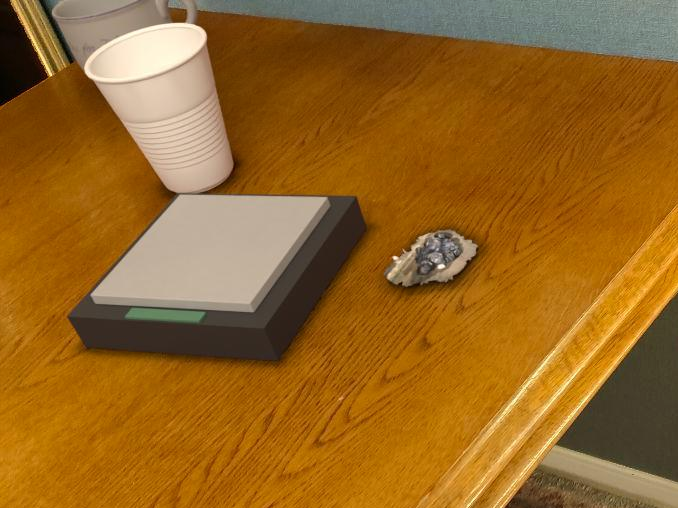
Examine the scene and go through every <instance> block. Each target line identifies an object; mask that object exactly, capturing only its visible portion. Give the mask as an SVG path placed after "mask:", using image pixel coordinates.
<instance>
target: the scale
mask: <svg viewBox="0 0 678 508" xmlns="http://www.w3.org/2000/svg"><path fill="white" fill-rule="evenodd" d="M363 215H364V214H363V212H362V210H361V206H360V203H359V200H358V196H357V195H332V194H331V195H329V194H327V195H326V194H325V195H324V194H323V195H321V194H319V195H318V194H266V193H265V194H263V193H262V194H259V193H258V194H257V193H256V194H255V193H204V192H201V193H175V195H174V196H173V197H172V198H171V200H170V201H168V203H167V204H166V205H165V206H164V207H163V208H162V210H160V212H159V213H158V214H157V215H156V216H155V217H154V218H153V219H152V221H151V222H150V223H149V224H148V225H147V226H146V227H145V228H144V230H143V231H142V232H141V233H140V234H139V235H138V236H137V238H136V239H135V240H134V241H133V242H132V243H131V244H130V245H129V247H127V249H126V250H125V251H124V252H123V253H121V255H120V256H119V258H117V260H116V261H115V262H114V263H113V264H112V265H111V266H110V267H109V268H108V269H107V271H106V272H105V273H104V274H103V275H102V276H101V277H100V278H99V280H98V281H97V282H96V283H95V284H94V285H93V286H92V288H91V289H90V290H89V291H88V292H87V293H86V294H85V295H84V296H83V297H82V299H81V300H80V301H79V302H78V303H77V304H76V305H75V307H73V308H72V310H71V311H70V312H69V313H68V314H67V315H66V318H67V319H68V321H69V323H70V324H71V326H72V328H73V329H74V331H75V332H76V334H77V336H78V337H79V339H80V341H81V342H82V344H83V345H84V347H85V348H86V349H100V350H101V349H102V350H115V351H116V350H117V351H128V352H129V351H130V352H131V351H132V352H145V353H157V354H173V355H188V356H199V357H200V356H202V357H213V358H214V357H215V358H228V359H229V358H230V359H243V360H244V359H245V360H257V361H269V362H271V361H272V362H279V361H280V359H281V358H282V357H283V355H284V353H285V352H286V351H287V349H288V347H289V346H290V344H291V343H292V341H293V339H294V338H295V337H296V335H297V334H298V332H299V331H300V329H301V328H302V327H303V325H304V323H305V322H306V321H307V319H308V317H309V316H310V315H311V313H312V312H313V310H314V308H315V306H316V305H317V304H318V302H319V300H320V299H321V298H322V296H323V295H324V293H325V291H326V290H327V288H328V287H329V286H330V284H331V283H332V281H333V279H334V278H335V277H336V275H337V274H338V272H339V271H340V269H341V268H342V266H343V264H344V263H345V262H346V260H347V259H348V257H349V255H350V254H351V252H352V251H353V249H354V248H355V247H356V245H357V244H358V242H359V241H360V239H361V238H362V236H363V235H364V233H365V232H366V230H367V225H366V222H365V218H364V216H363Z"/></svg>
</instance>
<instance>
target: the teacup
mask: <svg viewBox="0 0 678 508" xmlns="http://www.w3.org/2000/svg"><path fill="white" fill-rule="evenodd" d="M169 1H170V0H62V1H59V2H58V3H56V5H55V6H54V7H53V8H52V10H51V16H52V18H53V19H54V20H55V21H56V23H57V25H58V27H59V29H60V31H61V33H62V36H63V37H64V40H65V42H66V43H67V46H68V47H69V49H70V52H71V53H72V56H73V57H74V59H75V61H76V63H77V64H78V66H79V67H80V68H81V70H82V71H83V72H84V73H85V70H84V67H85V63H86V61H87V60H88V58H89V57H90V56H91V55H92V54H93V53H94V52H95V51H96V50H98V49H99V48H100V47H102V46H103V45H105V44H107V43H108V42H110V41H112V40H114V39H116V38H118V37H120V36H123V35H125V34H128V33H130V32H133V31H136V30H139V29H143V28H146V27H151V26H155V25H161V24H168V23H174V22H173V19H172V17H171V14H170V10H169ZM179 1H180V3H182V5H183V6H184V7H185V9H186V14H187V15H186V20H185V22H184V23H188V24H194V25H197V22H198V18H199V10H198V6H197V3H196V1H195V0H179Z"/></svg>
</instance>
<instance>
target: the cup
mask: <svg viewBox="0 0 678 508" xmlns="http://www.w3.org/2000/svg"><path fill="white" fill-rule="evenodd" d="M207 42H208V35H207V32H206V30H205V29H204V28H203V27H201V26H200V25H197V24H195V25H194V24H188V23H185V22H173V23H168V24H161V25H155V26H151V27H146V28H143V29H139V30H136V31H133V32H130V33H128V34H125V35H123V36H120V37H118V38H116V39H114V40H112V41H110V42H108V43H107V44H105V45H103V46H102V47H100V48H99V49H98V50H96V51H95V52H94V53H93V54H92V55H91V56H90V57H89V58H88V60H87V61H86V63H85V67H84V70H85V72H84V74H85V75H86V76H87V77H88V79H90V80H92V81H93V82H94V84H95V85H96V87H97V88H98V90H99V92H100V93H101V94H102V96H103V97H104V98H105V100H106V102H107V103H108V104H109V106H110V107H111V109H112V110H113V112H114V114H115V115H116V116H117V117H118V119H119V120H120V121H121V123H122V125H123V127H125V129H126V130H127V132H128V133H129V135H130V137H131V138H132V139H133V141H134V142H135V143H136V145H137V147H138V148H139V149H140V151H141V153H142V154H143V155H144V157H145V158H146V159H147V161H148V163H149V164H150V165H151V167H152V169H153V170H154V172H155V173H156V175H157V177H158V178H159V179H160V180H161V182H162V183H163V185H164V187H166V189H167V190H169V191H171V192H173V193H175V194H177V193H204V192H208V191H209V190H212V189H215V187H219V186H220V185H221V184H222V183H224V182H225V181H226V180H227V179H228V178H229V177H230V175H231V173H232V171H233V168H234V159H233V155H232V151H231V146H230V142H229V139H228V134H227V129H226V125H225V122H224V116H223V112H222V110H221V108H222V107H221V105H220V99H219V94H218V92H217V90H218V89H217V86H216V80H215V76H214V71H213V67H212V63H211V59H210V53H209V50H208V46H207Z"/></svg>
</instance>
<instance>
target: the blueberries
mask: <svg viewBox="0 0 678 508" xmlns="http://www.w3.org/2000/svg"><path fill="white" fill-rule="evenodd" d="M417 238H418V239H415V241H416V242H415V243H413V244H411V245H410V249H411V250H410V251H406V250H405V249H404V248H402V250H403V251H402V252H403V253H402V254H401V255H400V257H399V256H396V255H393V256H392V257H391V259H393V262H391V264H390V266H387V268H385V271H384V272H383V273H382V274H383V275H384V276H385V279H387V280H388V281H390V282H391V283H393V284H394V285H396V286H398V285H399V284H400V283H402V284H401V285H402V286H403V287H405V288H406V287H409V286H413V285H415V284H420V286H422V285H423V284H429V282H432V281H437V282H438V283H439V282H440V283H443V282H444V283H447V282H448V281H449V280H450V281H452V280H454V278H453V276H455V275H458V273H460V272H461V271H462V270H463V269H464V267H465V266H466V265H467V261H468V260H469V261H472V258H473V257H475V256H477V255H476V254H478V253H477V248H478V247H479V245H477V244H476V243H473V239H465V237H464V235H461V234H459V233H458V232H456V231H455V230H452V229H445V230H440V229H439V230H437V231H436V232H427V233H426V234H424V235H421V236H418V237H417Z"/></svg>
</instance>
